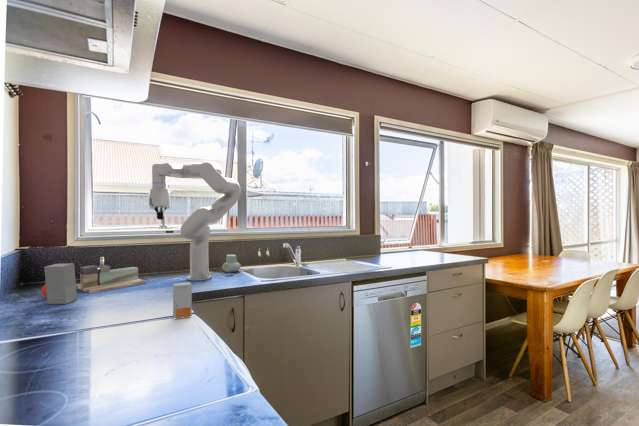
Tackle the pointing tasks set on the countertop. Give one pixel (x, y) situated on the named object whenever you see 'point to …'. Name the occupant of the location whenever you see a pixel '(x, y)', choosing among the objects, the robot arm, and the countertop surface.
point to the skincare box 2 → (182, 300)
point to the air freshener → (231, 264)
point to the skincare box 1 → (60, 283)
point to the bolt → (101, 263)
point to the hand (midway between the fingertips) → (160, 219)
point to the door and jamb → (107, 278)
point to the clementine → (44, 290)
